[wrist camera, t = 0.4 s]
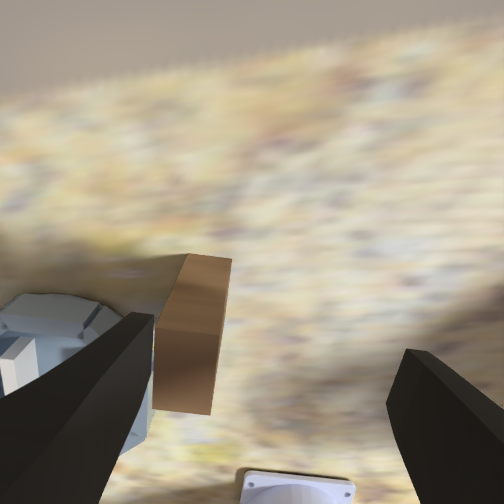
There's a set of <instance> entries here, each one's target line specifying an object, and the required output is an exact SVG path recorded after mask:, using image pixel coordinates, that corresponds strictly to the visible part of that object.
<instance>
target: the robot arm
mask: <svg viewBox="0 0 504 504" xmlns="http://www.w3.org/2000/svg"><path fill="white" fill-rule="evenodd" d="M153 327H154V315H151V314H143V313H136V312H132V313H130V314H129V315H127V316H126V317H125V318H123V319H122V320H121V321H119V322H118V323H117V324H115V325H114V326H113V327H111V328H110V329H109V330H107V331H106V332H105V333H103V334H102V335H101V336H99V337H98V338H97V339H95V340H94V341H92V342H91V343H90V344H88V345H87V346H85V347H84V348H83V349H81V350H80V351H78V352H77V353H75V354H74V355H73V356H71V357H70V358H68V359H66V360H65V361H63V362H62V363H60V364H59V365H57V366H56V367H54V368H53V369H51V370H49V371H48V372H46V373H45V374H43V375H41V376H40V377H38V378H36V379H35V380H33V381H31V382H29V383H28V384H26V385H24V386H22V387H21V388H19V389H17V390H15V391H13V392H11V393H9V394H7V395H6V396H4V397H2V398H0V504H98V503H99V501H100V498H101V496H102V493H103V491H104V488H105V486H106V484H107V482H108V479H109V477H110V475H111V473H112V470H113V468H114V466H115V464H116V461H117V459H118V457H119V455H120V453H121V450H122V448H123V446H124V444H125V441H126V439H127V437H128V435H129V432H130V430H131V428H132V426H133V423H134V421H135V419H136V416H137V414H138V412H139V410H140V407H141V404H142V401H143V398H144V395H145V392H146V388H147V385H148V382H149V379H150V375H151V365H152V346H153ZM386 406H387V410H388V415H389V419H390V423H391V427H392V430H393V434H394V437H395V440H396V443H397V446H398V448H399V451H400V453H401V456H402V458H403V461H404V464H405V466H406V469H407V471H408V474H409V476H410V479H411V481H412V483H413V486H414V488H415V491H416V493H417V496H418V498H419V501H420V503H421V504H504V410H503V409H502V408H501V407H499V406H498V405H497V404H496V403H494V402H493V401H492V400H490V399H489V398H488V397H487V396H485V395H484V394H483V393H481V392H480V391H479V390H478V389H476V388H475V387H474V386H473V385H471V384H470V383H469V382H467V381H466V380H465V379H464V378H462V377H461V376H460V375H459V374H457V373H456V372H455V371H454V370H452V369H451V368H450V367H448V366H447V365H446V364H444V363H443V362H442V361H440V360H439V359H438V358H436V357H435V356H433V355H432V354H430V353H429V352H427V351H421V350H413V349H406V351H405V353H404V356H403V359H402V361H401V364H400V367H399V369H398V372H397V375H396V377H395V380H394V383H393V385H392V388H391V391H390V393H389V396H388V399H387V401H386ZM355 490H356V488H355V484H354V483H353V482H352V481H347V480H337V479H328V478H319V477H309V476H300V475H290V474H281V473H271V472H262V471H253V470H252V471H247V472H246V473H245V476H244V481H243V487H242V492H241V498H240V503H239V504H351V501H352V499H353V496H354V493H355Z"/></svg>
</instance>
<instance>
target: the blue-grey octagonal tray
mask: <svg viewBox="0 0 504 504" xmlns="http://www.w3.org/2000/svg"><path fill="white" fill-rule="evenodd" d="M122 319H123V317H122V316H120V315H119V314H117V313H116V312H115V311H113V310H111V309H109V308H108V307H107V306H106V305H101V304H100V302H94V301H92V300H89V299H85V298H82V297H78V296H73V295H67V294H55V293H50V294H37V295H36V294H28V293H23V294H22V295H21V296H20V295H19V294H18V295H17V296H16V297H15V298H14V299H12V300H11V301H10V302H9V303H8V304H6V305H5V306H4V307H3V308H1V309H0V398H2V397H4V396H6V395H7V394H9V393H11V392H13V391H15V390H17V389H19V388H21V387H22V386H24V385H26V384H28V383H29V382H31V381H33V380H35V379H36V378H38V377H40V376H41V375H43V374H45V373H46V372H48V371H49V370H51V369H53V368H54V367H56V366H57V365H59V364H60V363H62V362H63V361H65V360H66V359H68V358H70V357H71V356H73V355H74V354H75V353H77V352H78V351H80V350H81V349H83V348H84V347H85V346H87V345H88V344H90V343H91V342H92V341H94V340H95V339H97V338H98V337H99V336H101V335H102V334H103V333H105V332H106V331H107V330H109V329H110V328H111V327H113V326H114V325H115V324H117V323H118V322H119V321H121V320H122ZM153 365H154V351H153V350H152V365H151V375H150V379H149V382H148V385H147V388H146V392H145V395H144V398H143V401H142V404H141V407H140V410H139V412H138V414H137V416H136V419H135V421H134V423H133V426H132V428H131V430H130V432H129V435H128V437H127V439H126V441H125V444H124V446H123V448H122V450H121V453H120V455H121V454H123V453H125V452H126V451H128V450H130V449H131V448H133V447H135V446H136V445H138V444H140V443H141V442H143V441H144V440H145V437H147V434H148V431H149V428H150V425H151V422H152V419H153V416H154V413H155V410H156V409H152V391H153ZM120 455H119V456H120Z"/></svg>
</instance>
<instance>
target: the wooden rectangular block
mask: <svg viewBox="0 0 504 504" xmlns="http://www.w3.org/2000/svg"><path fill="white" fill-rule="evenodd" d="M231 263H232V259H228V258H221V257H213V256H205V255H197V254H190V253H188V255H187V257H186V259H185V261H184V264H183V266H182V268H181V270H180V273H179V275H178V277H177V279H176V282H175V284H174V286H173V288H172V290H171V293H170V295H169V297H168V299H167V302H166V304H165V306H164V308H163V311H162V313H161V315H160V317H159V319H158V322H157V324H156V326H155V339H154V365H153V391H152V409H156V410H165V411H174V412H183V413H192V414H201V415H210V413H211V407H212V400H213V393H214V387H215V380H216V373H217V367H218V360H219V353H220V347H221V340H222V333H223V326H224V320H225V312H226V303H227V295H228V287H229V279H230V271H231Z"/></svg>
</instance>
